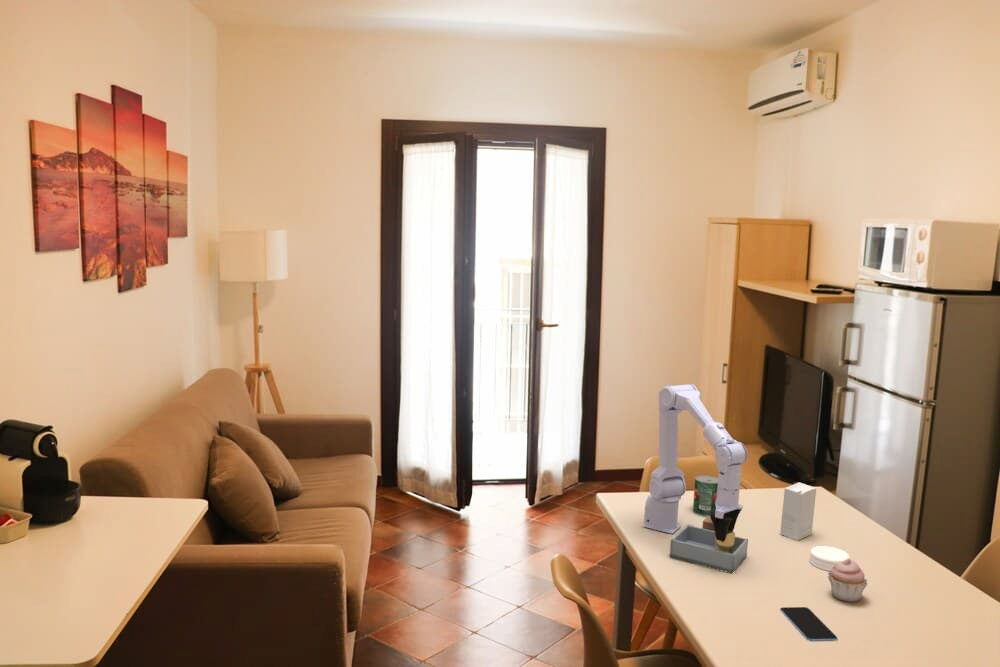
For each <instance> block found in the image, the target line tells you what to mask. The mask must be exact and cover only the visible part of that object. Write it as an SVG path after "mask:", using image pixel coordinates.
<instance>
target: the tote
mask: <svg viewBox="0 0 1000 667" xmlns="http://www.w3.org/2000/svg"><path fill="white" fill-rule="evenodd" d="M748 544H749V539H748V538H743V537H739V536H736V535H735V540H734V553H733V554H730V553H726V552H722V551H718V550H714V549H715V531H711V530H707V529H702V527H698V526H695V525H694V526H693V525H689V524H687V525H686V526H684V527H683V529H681V530H680V531H679V532H678V533H677V534H675V535H674V536H673V538H671V539H670V549H669V558H672V559H675V560H679V561H683V562H687V563H690V564H694V565H697V564H698V565H697V566H701V565H702V566H703V567H705V566H706V568H709V567H710V569H713V568H714V569H713V570H717V569H718V570H717V571H720V570H723V571H722V572H724V571H727V572H726V573H728V572H730V573H729V574H732V573H733V572H734V571H735V572H736V571H737V570H738V568H739V567H740V565H741V564H742V563H743V562H744V560H745V559H746V558H747V555H748ZM742 561H743V562H742ZM702 566H701V567H702ZM738 566H739V567H738ZM735 572H734V573H735ZM734 573H733V574H734Z"/></svg>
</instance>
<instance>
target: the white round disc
mask: <svg viewBox="0 0 1000 667" xmlns="http://www.w3.org/2000/svg"><path fill="white" fill-rule="evenodd" d="M809 552H810V554H809V560H808V561H809V563H810V564H811V565H812V566H814V567H815V568H817V569H819V570H822V571H826V572H831V569H832V568H833V567H834V566H835V564H836V563H838V562H844V561H845V560H846V559H851V557H850V554H849V553H847V551H845V550H843V549H841V548H838V547H835V546H834V547H833V546H828V545H827V546H826V545H825V546H824V545H819V546H814V547H812V548H810V551H809Z"/></svg>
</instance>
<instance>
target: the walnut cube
mask: <svg viewBox="0 0 1000 667" xmlns="http://www.w3.org/2000/svg"><path fill="white" fill-rule="evenodd" d="M701 528H702V529H707V530H711V531H715V529H714V525H713V522H712V520H711V518H710V516H708V517H705V518H704V519H703V521H702V526H701Z"/></svg>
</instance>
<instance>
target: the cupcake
mask: <svg viewBox="0 0 1000 667" xmlns="http://www.w3.org/2000/svg"><path fill="white" fill-rule="evenodd" d="M827 579H828V581H829V582H830V586H831V593H832V595H833V597H834V598H836V599H838V600H839V601H843V602H849V603H855V602H858V601H860V599H861V597H862V594H863V592H864V590H865V589H866V588H867V586H868V584H869V583H868V579H867V578H865V573H864V571H863V570H862V569H861V567H860V566H859V564H858V563H857V562H856V561H854V560H852V558H850V559H846V560H845V561H844V562H838V563H836V564H835V566H834V567H833V568H832V569H831V572H830V571H828V572H827Z"/></svg>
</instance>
